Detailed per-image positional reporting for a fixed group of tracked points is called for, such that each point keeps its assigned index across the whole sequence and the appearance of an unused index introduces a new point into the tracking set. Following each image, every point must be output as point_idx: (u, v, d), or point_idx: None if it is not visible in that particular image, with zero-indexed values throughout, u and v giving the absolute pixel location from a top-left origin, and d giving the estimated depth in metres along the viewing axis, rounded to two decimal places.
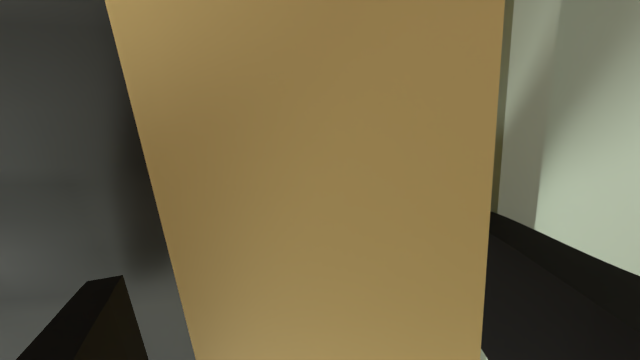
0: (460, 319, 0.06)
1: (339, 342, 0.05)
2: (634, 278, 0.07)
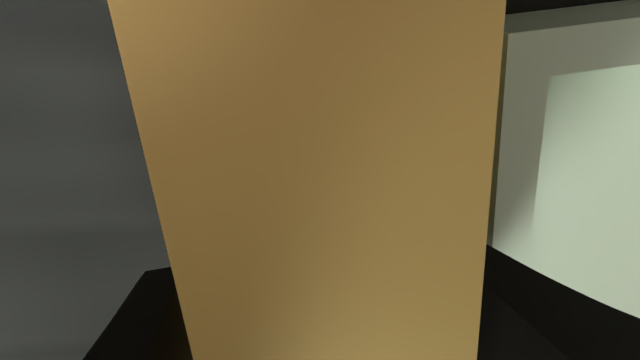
0: None
1: None
2: (567, 291, 0.07)
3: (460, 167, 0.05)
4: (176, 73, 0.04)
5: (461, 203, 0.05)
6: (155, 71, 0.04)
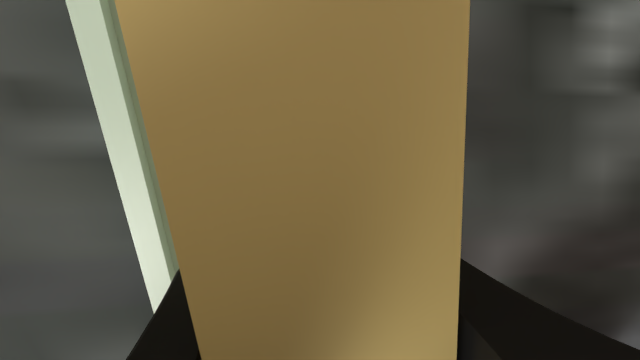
0: None
1: None
2: (521, 300, 0.07)
3: (435, 138, 0.05)
4: (174, 51, 0.04)
5: (438, 172, 0.05)
6: (154, 49, 0.04)
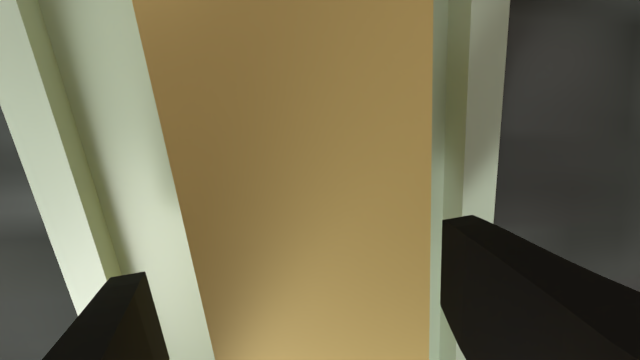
0: None
1: None
2: (608, 283, 0.07)
3: (406, 118, 0.06)
4: (181, 43, 0.05)
5: (409, 147, 0.06)
6: (164, 41, 0.05)
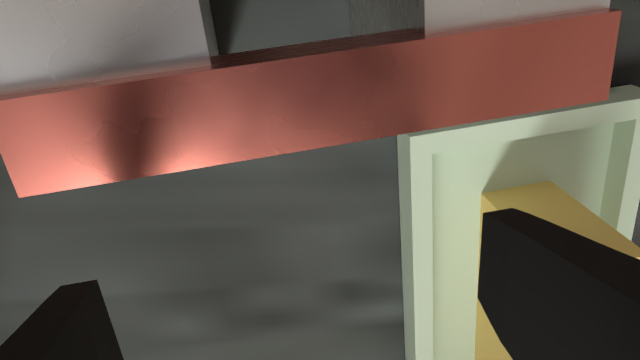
0: None
1: None
2: None
3: None
4: None
5: None
6: None
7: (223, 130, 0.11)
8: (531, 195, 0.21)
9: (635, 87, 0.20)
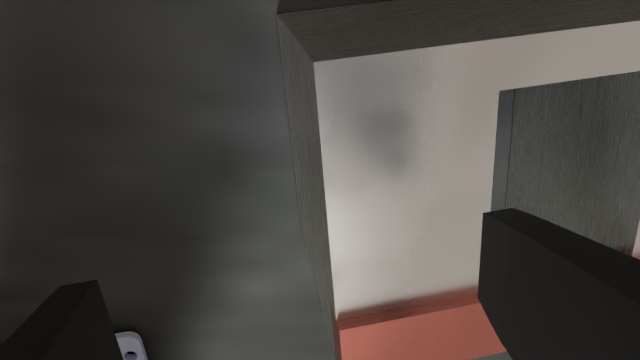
0: None
1: None
2: None
3: None
4: None
5: None
6: None
7: (488, 336, 0.15)
8: None
9: None
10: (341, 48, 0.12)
